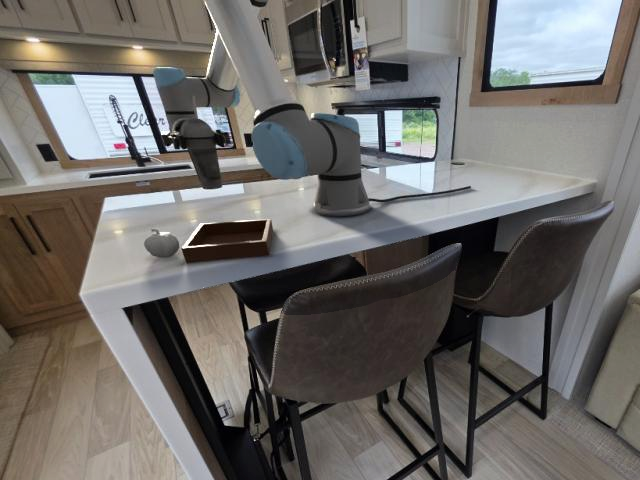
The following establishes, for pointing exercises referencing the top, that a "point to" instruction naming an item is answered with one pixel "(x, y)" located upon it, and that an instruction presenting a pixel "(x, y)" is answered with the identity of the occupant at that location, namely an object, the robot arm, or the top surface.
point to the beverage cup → (202, 150)
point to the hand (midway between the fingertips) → (202, 141)
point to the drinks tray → (229, 241)
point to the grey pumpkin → (161, 244)
